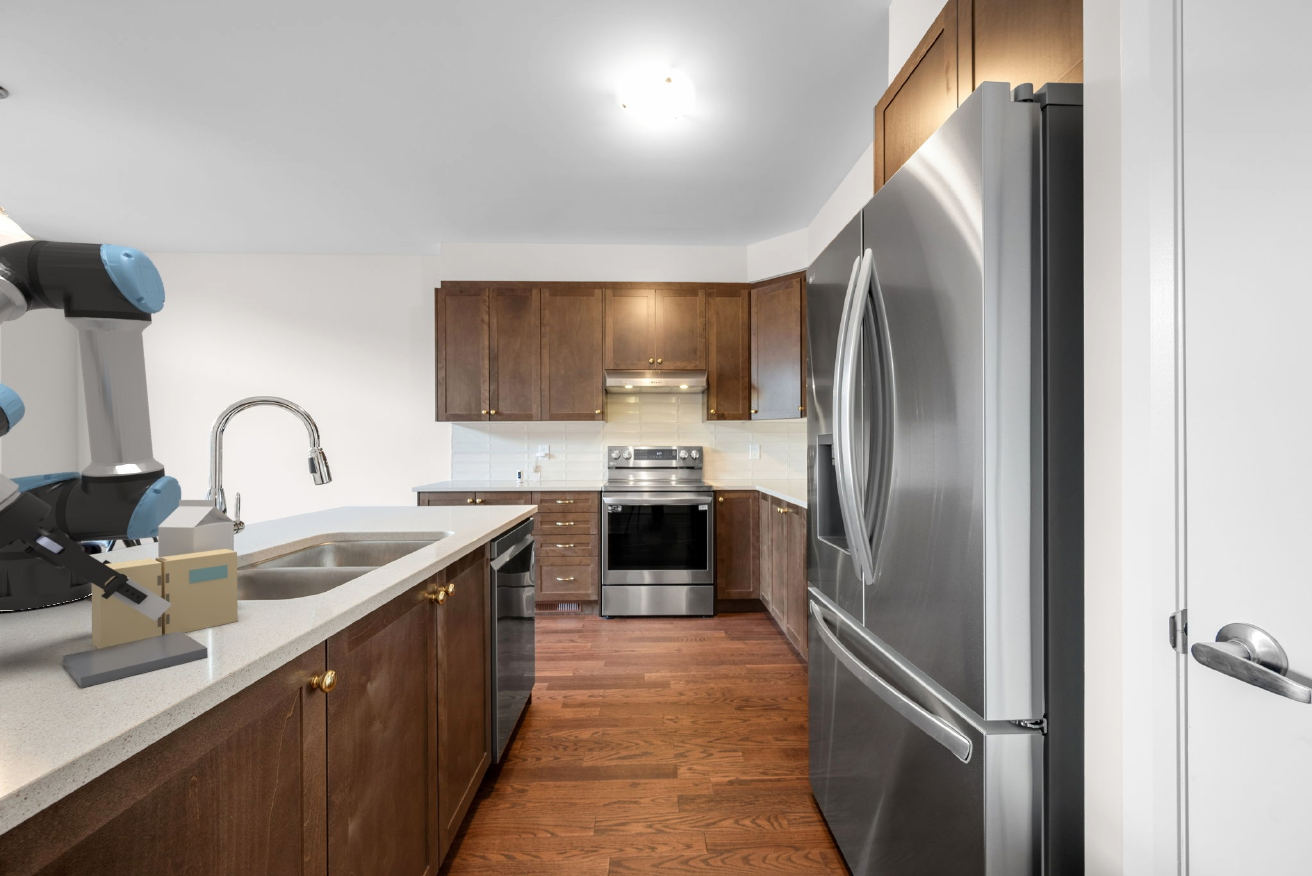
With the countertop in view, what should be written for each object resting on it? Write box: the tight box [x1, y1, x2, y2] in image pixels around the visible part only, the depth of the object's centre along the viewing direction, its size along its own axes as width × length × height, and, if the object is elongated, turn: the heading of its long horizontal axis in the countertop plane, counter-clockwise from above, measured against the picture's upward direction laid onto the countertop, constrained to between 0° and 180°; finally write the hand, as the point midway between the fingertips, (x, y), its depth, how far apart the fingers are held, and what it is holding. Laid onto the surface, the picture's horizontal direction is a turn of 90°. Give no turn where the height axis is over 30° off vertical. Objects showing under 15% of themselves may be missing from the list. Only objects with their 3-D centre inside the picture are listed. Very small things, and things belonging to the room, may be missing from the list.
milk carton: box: [157, 499, 235, 558], centre depth 97 cm, size 7×7×19 cm
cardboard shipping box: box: [155, 549, 239, 635], centre depth 91 cm, size 5×9×11 cm, turn 142°
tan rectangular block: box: [91, 558, 162, 649], centre depth 84 cm, size 6×6×11 cm
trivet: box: [62, 631, 208, 689], centre depth 76 cm, size 12×12×1 cm
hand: (152, 605), depth 86 cm, fingers open, 11 cm apart
